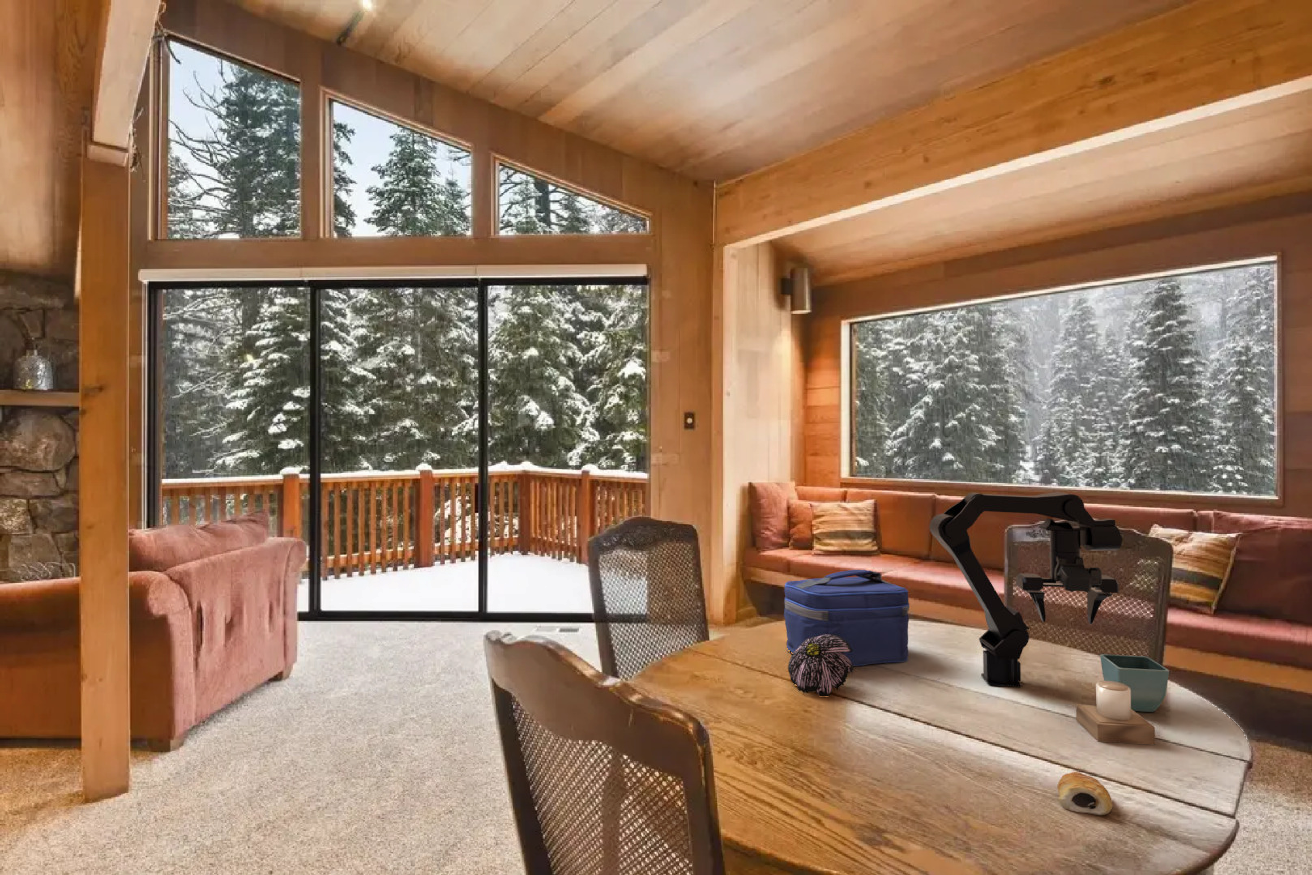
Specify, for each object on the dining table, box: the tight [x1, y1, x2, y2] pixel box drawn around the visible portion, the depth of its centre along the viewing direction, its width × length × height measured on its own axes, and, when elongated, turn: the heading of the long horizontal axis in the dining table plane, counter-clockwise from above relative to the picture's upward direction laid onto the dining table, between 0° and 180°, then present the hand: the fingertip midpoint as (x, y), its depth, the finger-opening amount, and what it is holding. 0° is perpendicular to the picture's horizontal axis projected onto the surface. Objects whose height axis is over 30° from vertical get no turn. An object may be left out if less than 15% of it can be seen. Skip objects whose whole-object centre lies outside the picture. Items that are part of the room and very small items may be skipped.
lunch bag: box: [783, 569, 910, 667], centre depth 171 cm, size 31×21×20 cm
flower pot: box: [1099, 653, 1170, 713], centre depth 135 cm, size 9×9×9 cm
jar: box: [1095, 680, 1131, 720], centre depth 124 cm, size 5×5×5 cm
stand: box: [1075, 704, 1156, 745], centre depth 124 cm, size 9×9×3 cm
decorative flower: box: [787, 634, 854, 697], centre depth 149 cm, size 15×12×15 cm
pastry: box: [1056, 771, 1114, 816], centre depth 101 cm, size 9×7×4 cm
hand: (1066, 622), depth 149 cm, fingers open, 9 cm apart
